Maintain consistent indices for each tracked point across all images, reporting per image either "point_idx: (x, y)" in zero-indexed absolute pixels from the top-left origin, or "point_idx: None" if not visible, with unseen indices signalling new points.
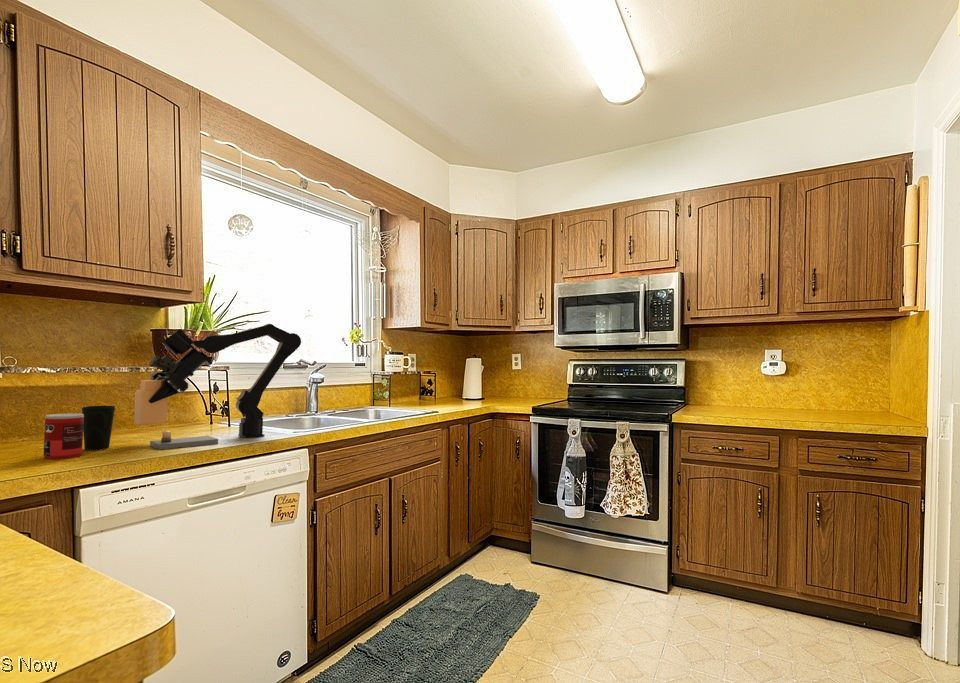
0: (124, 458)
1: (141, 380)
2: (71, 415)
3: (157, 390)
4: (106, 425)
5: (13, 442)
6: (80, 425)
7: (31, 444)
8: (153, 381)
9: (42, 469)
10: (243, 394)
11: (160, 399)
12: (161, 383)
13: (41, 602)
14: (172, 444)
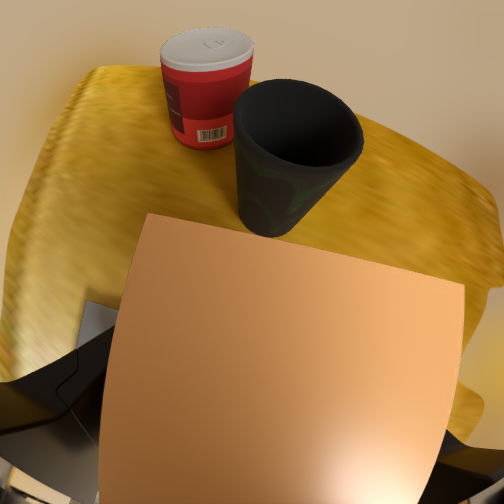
0: (70, 190)
1: (433, 277)
2: (219, 57)
3: (86, 366)
4: (236, 173)
5: (458, 172)
6: (166, 82)
7: (427, 171)
8: (115, 382)
9: (116, 87)
10: None
11: None
12: (21, 413)
13: None
14: (80, 337)
